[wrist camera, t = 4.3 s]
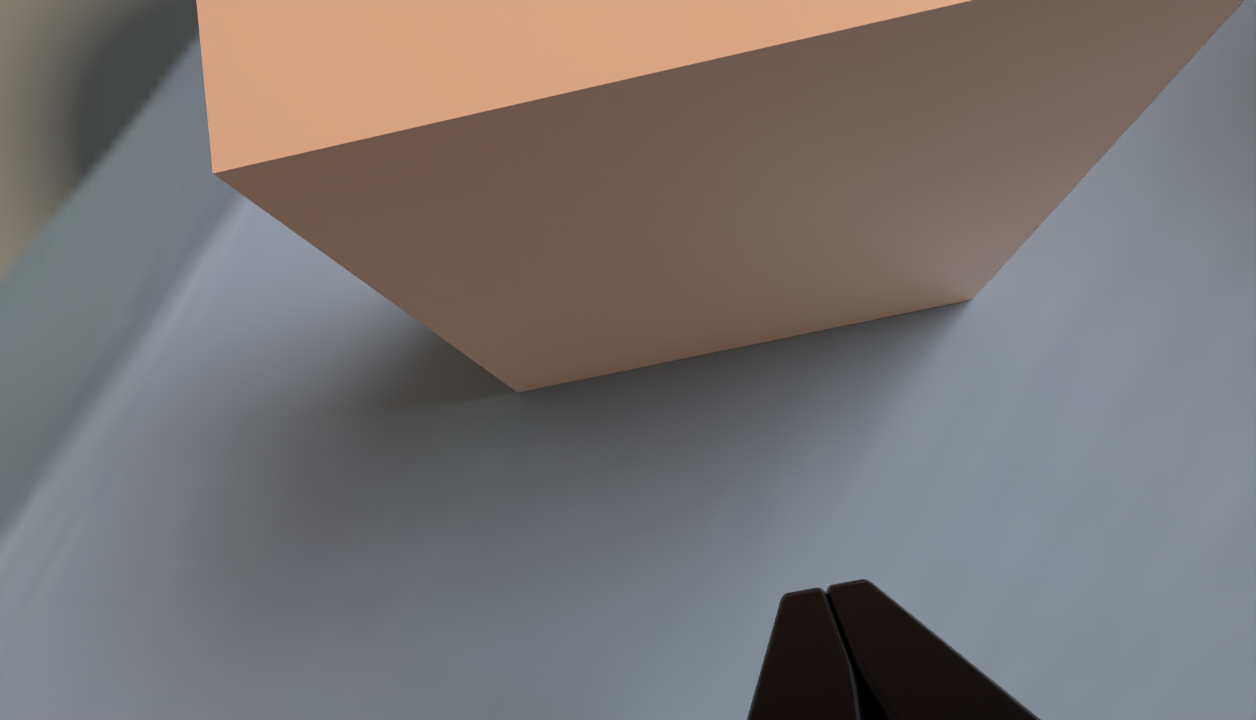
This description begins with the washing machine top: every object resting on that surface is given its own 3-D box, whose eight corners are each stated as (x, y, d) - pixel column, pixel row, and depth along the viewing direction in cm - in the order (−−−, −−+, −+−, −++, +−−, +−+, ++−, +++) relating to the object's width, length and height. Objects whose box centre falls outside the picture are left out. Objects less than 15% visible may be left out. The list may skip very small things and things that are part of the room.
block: (972, 299, 16) (1315, -78, 7) (517, 392, 17) (213, 174, 7) (934, 160, 17) (1198, -380, 7) (495, 254, 17) (185, -123, 8)
